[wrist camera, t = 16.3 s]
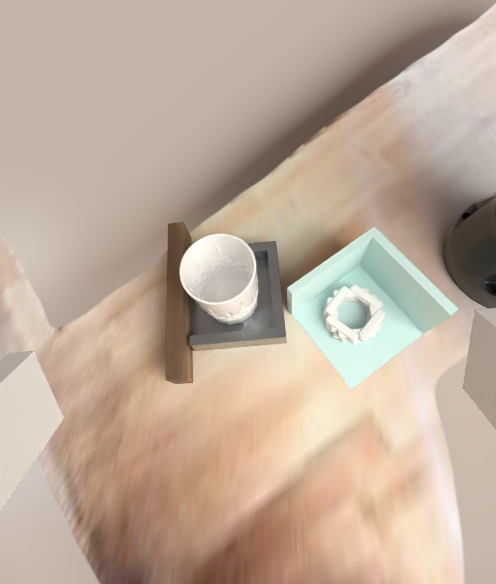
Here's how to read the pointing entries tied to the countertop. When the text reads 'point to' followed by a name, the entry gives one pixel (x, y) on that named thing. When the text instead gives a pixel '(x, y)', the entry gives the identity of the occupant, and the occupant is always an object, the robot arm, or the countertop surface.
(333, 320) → the right angle wall
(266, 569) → the countertop surface
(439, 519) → the countertop surface
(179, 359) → the brown drawer face panel
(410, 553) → the countertop surface
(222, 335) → the gray square tray
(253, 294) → the white cup
